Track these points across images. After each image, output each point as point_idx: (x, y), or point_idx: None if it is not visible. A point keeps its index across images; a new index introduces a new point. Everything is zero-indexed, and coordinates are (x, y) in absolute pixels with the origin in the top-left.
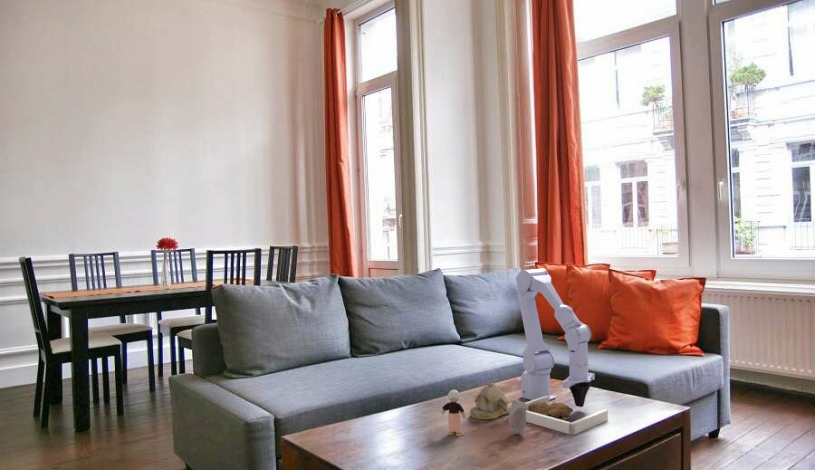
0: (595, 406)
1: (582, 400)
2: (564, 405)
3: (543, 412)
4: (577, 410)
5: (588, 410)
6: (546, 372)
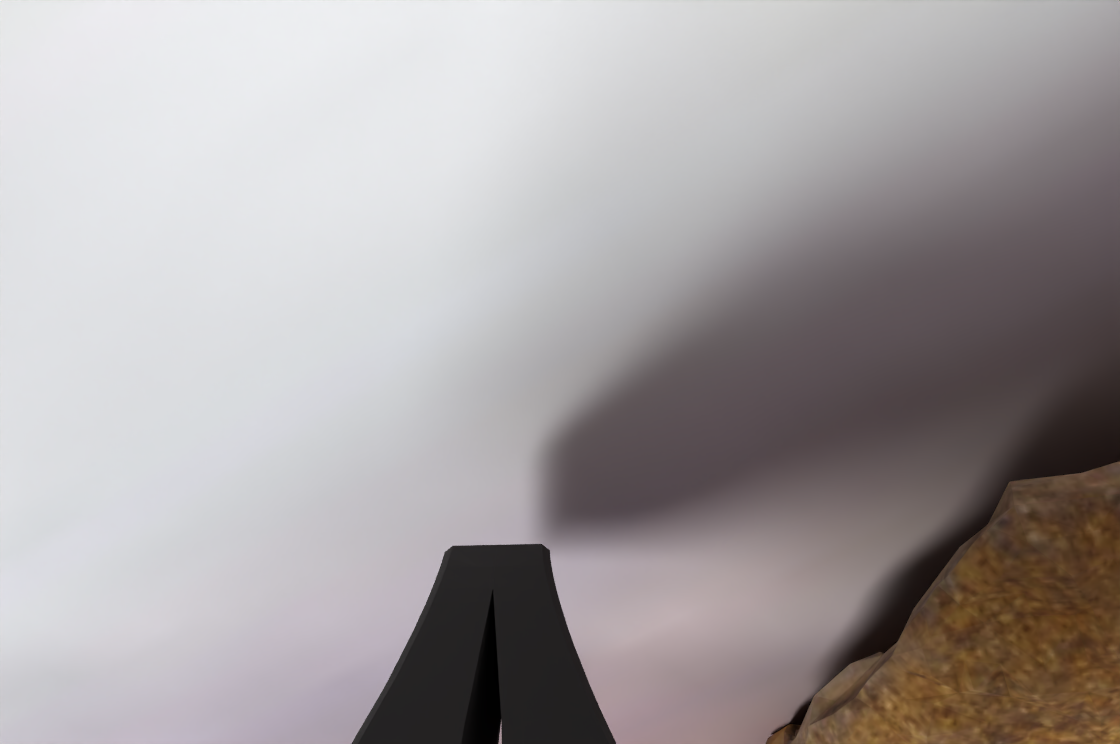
0: (6, 478)
1: (529, 657)
2: (1056, 708)
3: None
4: None
5: (353, 428)
6: None
